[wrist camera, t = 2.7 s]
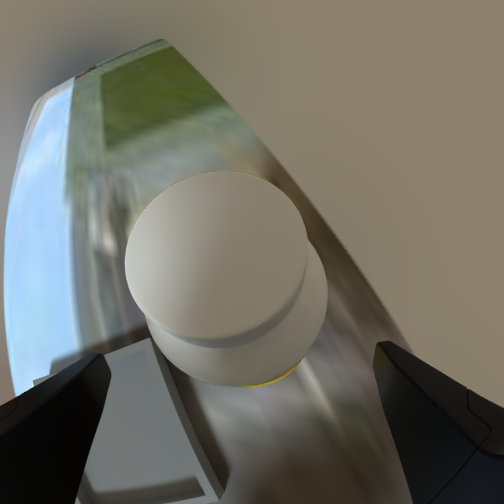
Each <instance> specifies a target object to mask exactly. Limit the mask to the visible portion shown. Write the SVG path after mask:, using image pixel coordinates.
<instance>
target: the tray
mask: <svg viewBox="0 0 504 504" xmlns="http://www.w3.org/2000/svg"><path fill="white" fill-rule="evenodd" d="M104 357H105V359H106V361H107V363H108V366H109V368H110V370H111V374H112V377H111V381H110V385H109V389H108V393H107V397H106V402H105V406H104V410H103V413H102V416H101V419H100V422H99V425H98V428H97V431H96V434H95V437H94V440H93V443H92V446H91V450H90V453H89V456H88V459H87V463H86V466H85V469H84V473H83V476H82V480H81V483H80V487H79V491H78V494H77V498H76V502H75V504H208V503H212V502H216V501H219V500H220V499H221V497H222V495H223V493H224V492H225V491H224V490H223V488H222V486H221V484H220V482H219V480H218V478H217V476H216V474H215V472H214V470H213V468H212V466H211V464H210V462H209V460H208V458H207V456H206V454H205V452H204V450H203V448H202V446H201V444H200V441H199V439H198V437H197V435H196V433H195V430H194V428H193V426H192V424H191V421H190V419H189V417H188V414H187V412H186V410H185V407H184V405H183V402H182V400H181V397H180V395H179V392H178V390H177V387H176V385H175V382H174V379H173V377H172V374H171V371H170V369H169V366H168V363H167V360H166V358H165V355H164V354H163V353H162V352H161V350H160V349H159V347H158V346H157V344H156V343H155V341H154V339H152V338H147V339H144V340H142V341H139V342H137V343H134V344H132V345H129V346H127V347H124V348H121V349H119V350H116V351H114V352H111V353H108V354H106V355H104ZM59 372H60V371H59ZM57 373H58V372H56V373H53V374H51V375H48V376H45V377H42V378H39V379H36V380H33V383H34V386H36V385H38V384H39V383H41V382H43V381H45V380H46V379H48V378H50V377H51V376H53V375H55V374H57Z"/></svg>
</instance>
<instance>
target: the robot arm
mask: <svg viewBox="0 0 504 504" xmlns="http://www.w3.org/2000/svg"><path fill="white" fill-rule="evenodd" d="M373 369H374V373H375V378H376V382H377V386H378V390H379V395H380V399H381V403H382V407H383V410H384V414H385V416H386V419H387V422H388V425H389V428H390V431H391V434H392V437H393V440H394V442H395V446H396V449H397V452H398V455H399V458H400V461H401V464H402V467H403V471H404V474H405V477H406V480H407V484H408V487H409V491H410V494H411V498H412V501H413V504H504V408H503V407H501V406H499V405H497V404H495V403H493V402H491V401H489V400H487V399H485V398H483V397H481V396H480V395H478V394H476V393H475V392H473V391H472V390H470V389H467V388H466V387H465V386H463V385H461V384H460V383H458V382H456V381H455V380H453V379H451V378H450V377H448V376H447V375H445V374H443V373H442V372H440V371H439V370H437V369H435V368H434V367H432V366H430V365H429V364H427V363H425V362H424V361H422V360H420V359H419V358H417V357H416V356H414V355H412V354H411V353H409V352H407V351H406V350H404V349H402V348H401V347H399V346H398V345H396V344H394V343H393V342H391V341H383V342H378V343H377V345H376V349H375V355H374V360H373ZM111 377H112V374H111V370H110V368H109V366H108V363H107V361H106V359H105V357H104V355H103V354H101V353H91V354H89V355H87V356H86V357H84V358H82V359H81V360H79V361H77V362H75V363H74V364H72V365H70V366H69V367H67V368H65V369H63V370H62V371H60V372H58V373H57V374H55V375H53V376H51V377H50V378H48V379H46V380H45V381H43V382H41V383H39V384H38V385H36V386H34V387H33V388H31V389H29V390H27V391H26V392H24V393H22V394H21V395H20V396H17V397H15V398H14V399H12V400H10V401H8V402H7V403H5V404H3V405H1V406H0V504H75V502H76V498H77V494H78V491H79V487H80V483H81V480H82V476H83V473H84V469H85V466H86V463H87V459H88V456H89V453H90V450H91V446H92V443H93V440H94V437H95V434H96V431H97V428H98V425H99V422H100V419H101V416H102V413H103V410H104V406H105V402H106V397H107V393H108V389H109V385H110V381H111Z"/></svg>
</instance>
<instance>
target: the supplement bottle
mask: <svg viewBox="0 0 504 504" xmlns="http://www.w3.org/2000/svg"><path fill="white" fill-rule="evenodd" d="M125 273H126V278H127V282H128V286H129V289H130V291H131V294H132V296H133V298H134V300H135V301H136V303H137V305H138V306H139V308H140V309H141V310H142V311H143V313H144V314H145V318H146V321H147V325H148V328H149V331H150V333H151V335H152V337H153V339H154V341H155V343H156V344H157V346H158V347H159V349H160V350H161V352H162V353H163V354H164V355H165V356H166V358H167V359H168V360H169V361H170V362H171V363H173V364H174V365H175V366H176V367H177V368H179V369H180V370H181V371H183V372H185V373H186V374H188V375H190V376H191V377H193V378H196V379H198V380H201V381H203V382H206V383H210V384H214V385H220V386H229V387H259V386H265V385H269V384H272V383H274V382H277V381H279V380H281V379H283V378H284V377H286V376H287V375H288V374H289V373H291V372H292V371H293V370H294V369H295V368H296V366H297V365H298V364H299V363H300V361H301V360H302V359H303V357H304V356H305V355H306V353H307V352H308V351H309V349H310V348H311V346H312V345H313V343H314V341H315V340H316V338H317V336H318V334H319V332H320V330H321V327H322V324H323V321H324V318H325V314H326V310H327V302H328V288H327V280H326V275H325V271H324V267H323V265H322V262H321V260H320V258H319V256H318V254H317V252H316V250H315V249H314V247H313V246H312V244H311V243H310V241H309V240H308V237H307V233H306V229H305V225H304V223H303V220H302V217H301V215H300V213H299V211H298V210H297V208H296V207H295V205H294V204H293V202H292V201H291V200H290V199H289V197H288V196H286V195H285V194H284V193H283V192H282V191H281V190H280V189H279V188H277V187H276V186H274V185H273V184H271V183H269V182H268V181H266V180H264V179H262V178H259V177H257V176H254V175H251V174H247V173H242V172H234V171H213V172H207V173H202V174H198V175H194V176H192V177H189V178H186V179H184V180H181V181H179V182H177V183H175V184H174V185H172V186H170V187H169V188H167V189H166V190H164V191H163V192H162V193H160V194H159V195H158V196H157V197H156V198H154V199H153V200H152V202H151V203H150V204H149V205H148V206H147V207H146V208H145V209H144V210H143V212H142V213H141V215H140V216H139V218H138V219H137V221H136V223H135V225H134V227H133V229H132V231H131V234H130V236H129V240H128V244H127V247H126V255H125Z"/></svg>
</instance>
